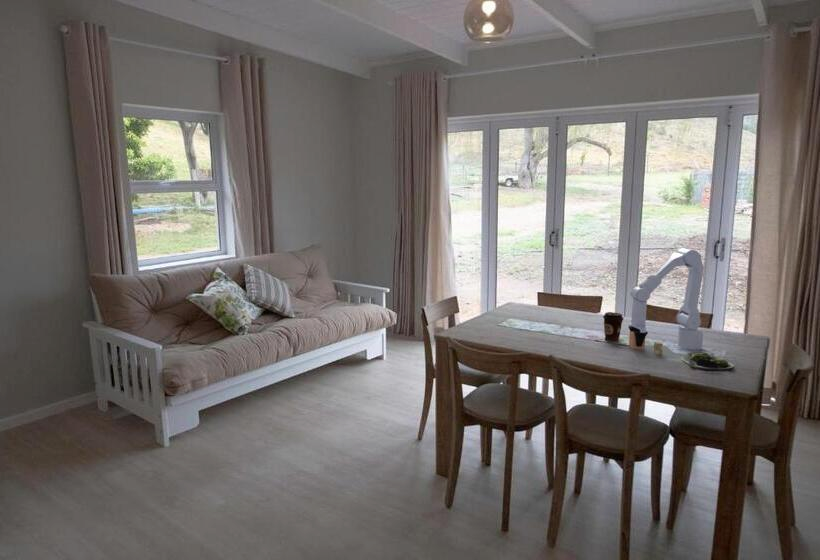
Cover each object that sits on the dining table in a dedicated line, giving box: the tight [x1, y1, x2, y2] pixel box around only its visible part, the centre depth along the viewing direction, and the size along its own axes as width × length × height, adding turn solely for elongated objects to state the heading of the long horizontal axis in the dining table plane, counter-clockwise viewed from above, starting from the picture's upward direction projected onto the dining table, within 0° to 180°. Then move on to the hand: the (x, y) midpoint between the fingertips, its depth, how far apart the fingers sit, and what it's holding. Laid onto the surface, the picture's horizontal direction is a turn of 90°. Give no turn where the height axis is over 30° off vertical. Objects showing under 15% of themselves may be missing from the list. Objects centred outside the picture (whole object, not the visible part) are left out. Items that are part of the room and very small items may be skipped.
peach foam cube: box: [628, 330, 646, 349], centre depth 243 cm, size 5×5×7 cm
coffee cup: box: [602, 311, 624, 343], centre depth 254 cm, size 9×8×13 cm
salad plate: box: [681, 352, 735, 372], centre depth 222 cm, size 19×18×5 cm
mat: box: [626, 344, 681, 359], centre depth 238 cm, size 17×17×1 cm
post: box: [653, 341, 664, 355], centre depth 234 cm, size 3×3×5 cm
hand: (636, 344), depth 243 cm, fingers open, 5 cm apart
